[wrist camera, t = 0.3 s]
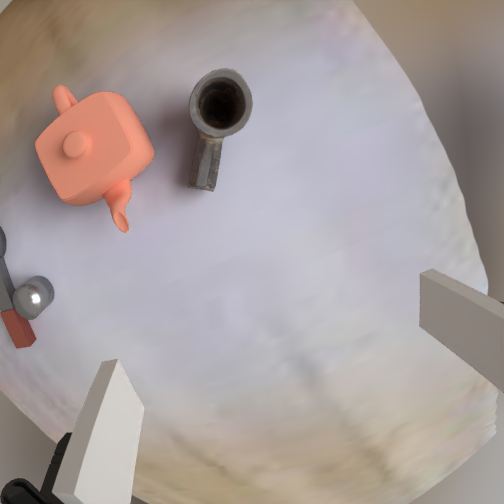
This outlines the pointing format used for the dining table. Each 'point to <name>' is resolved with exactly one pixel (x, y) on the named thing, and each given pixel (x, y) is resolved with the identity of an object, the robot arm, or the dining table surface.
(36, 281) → the socket
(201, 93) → the pipe
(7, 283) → the ratchet
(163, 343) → the dining table surface
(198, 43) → the dining table surface
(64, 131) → the teapot
